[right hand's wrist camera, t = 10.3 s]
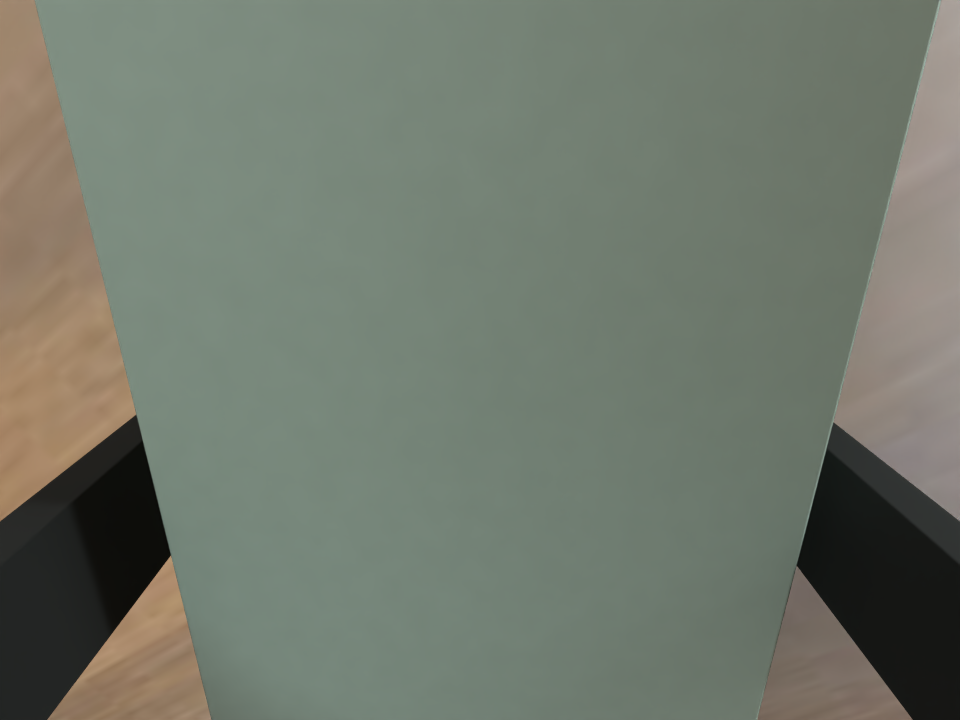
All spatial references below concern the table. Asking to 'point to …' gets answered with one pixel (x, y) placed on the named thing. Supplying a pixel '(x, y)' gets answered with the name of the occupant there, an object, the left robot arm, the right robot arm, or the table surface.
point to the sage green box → (486, 330)
